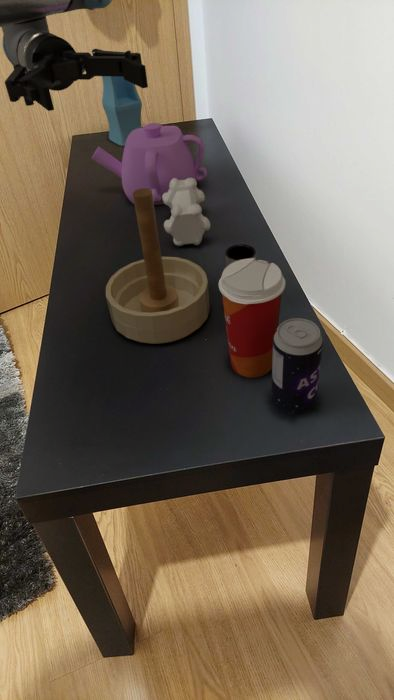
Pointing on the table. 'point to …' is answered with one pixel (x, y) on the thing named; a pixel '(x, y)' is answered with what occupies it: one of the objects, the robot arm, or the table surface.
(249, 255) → the dark grey hollow cylinder
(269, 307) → the coffee cup
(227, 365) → the table surface
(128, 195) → the teapot
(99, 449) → the table surface
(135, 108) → the vase
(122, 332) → the bowl
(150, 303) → the brown tall rod post
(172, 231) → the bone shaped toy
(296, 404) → the beverage can
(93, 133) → the table surface
